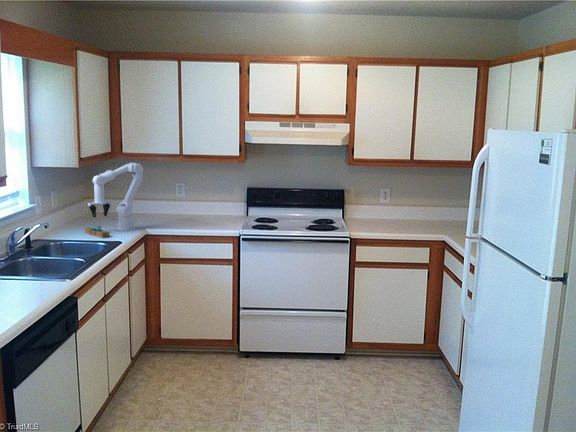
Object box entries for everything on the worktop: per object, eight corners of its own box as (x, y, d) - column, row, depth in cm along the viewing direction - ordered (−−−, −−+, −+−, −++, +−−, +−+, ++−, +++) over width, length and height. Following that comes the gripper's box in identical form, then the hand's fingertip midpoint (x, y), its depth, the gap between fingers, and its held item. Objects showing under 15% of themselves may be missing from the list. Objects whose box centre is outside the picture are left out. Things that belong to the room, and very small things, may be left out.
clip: (92, 234, 320) (92, 224, 319) (95, 233, 321) (95, 224, 320) (98, 236, 316) (98, 226, 315) (101, 235, 317) (101, 225, 316)
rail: (91, 231, 326) (91, 227, 326) (109, 236, 314) (109, 232, 314) (84, 233, 323) (84, 228, 322) (102, 238, 310) (102, 233, 310)
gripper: (92, 196, 315) (92, 218, 317) (113, 194, 326) (113, 216, 328) (85, 195, 319) (86, 217, 321) (107, 193, 330) (107, 214, 332)
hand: (99, 216), depth 325 cm, fingers open, 7 cm apart
